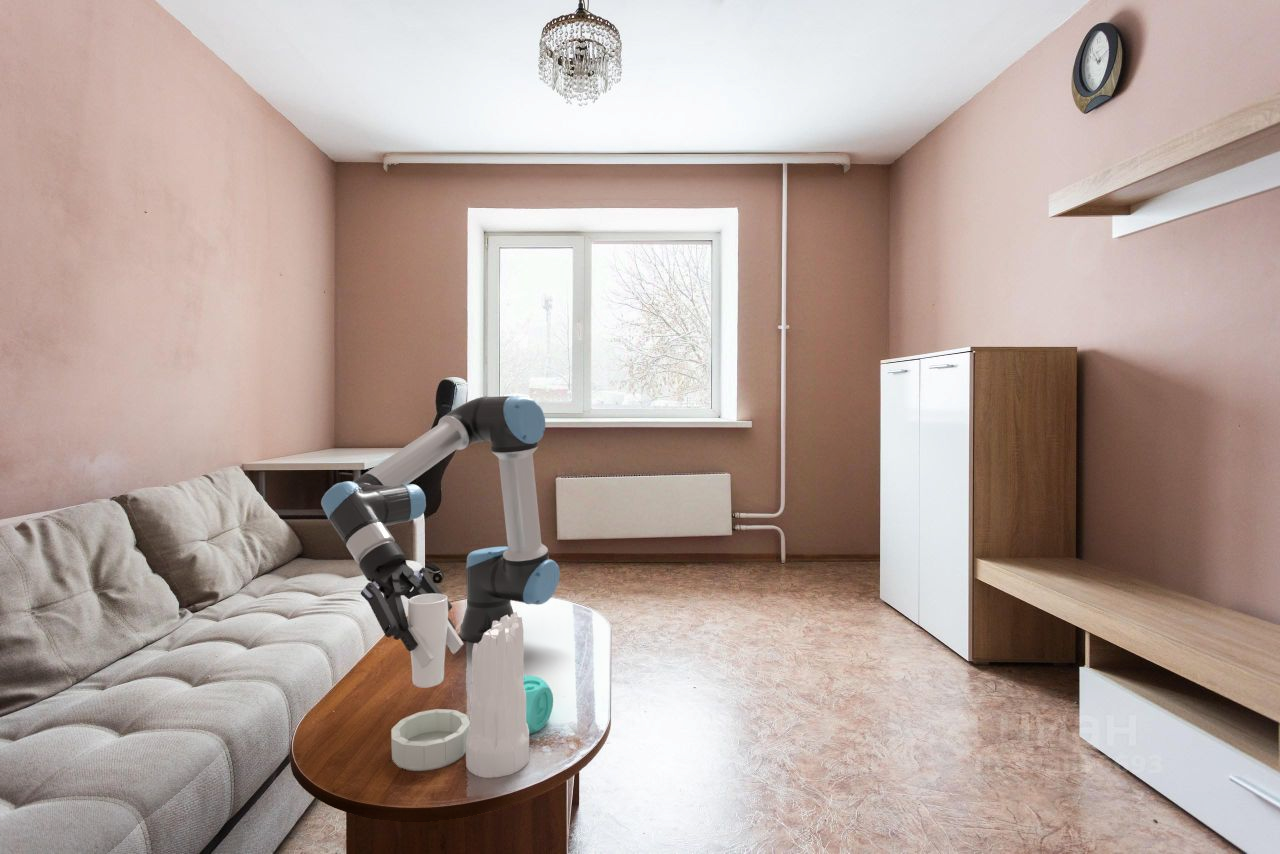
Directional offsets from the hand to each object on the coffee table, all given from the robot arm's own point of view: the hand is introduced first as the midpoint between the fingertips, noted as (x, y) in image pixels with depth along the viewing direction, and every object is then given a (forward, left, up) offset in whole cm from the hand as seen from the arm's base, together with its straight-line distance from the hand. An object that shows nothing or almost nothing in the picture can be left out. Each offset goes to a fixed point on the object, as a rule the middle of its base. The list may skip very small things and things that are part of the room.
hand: (443, 655), depth 110 cm
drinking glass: (+1, -4, -6) cm, 7 cm away
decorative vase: (-5, +9, -18) cm, 20 cm away
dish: (0, -3, -18) cm, 18 cm away
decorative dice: (-16, +3, -18) cm, 24 cm away
